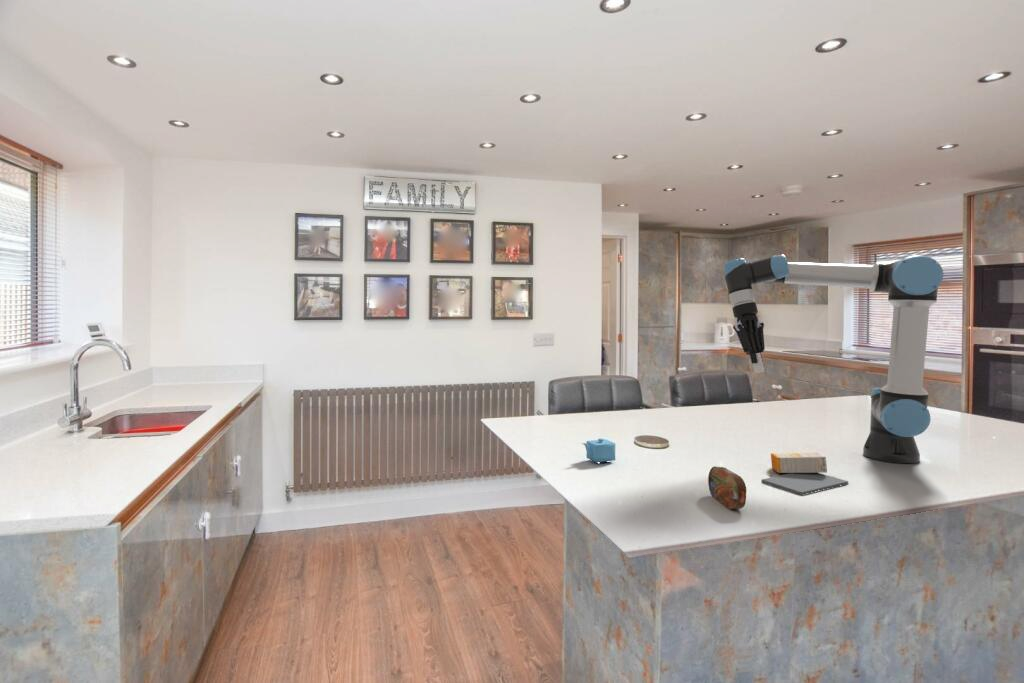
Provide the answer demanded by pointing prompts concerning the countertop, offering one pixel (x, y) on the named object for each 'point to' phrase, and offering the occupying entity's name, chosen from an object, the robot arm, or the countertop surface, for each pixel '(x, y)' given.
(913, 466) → the countertop surface
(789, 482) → the mat
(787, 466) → the supplement box
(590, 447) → the teapot
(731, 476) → the multicoloured flat oval slab
